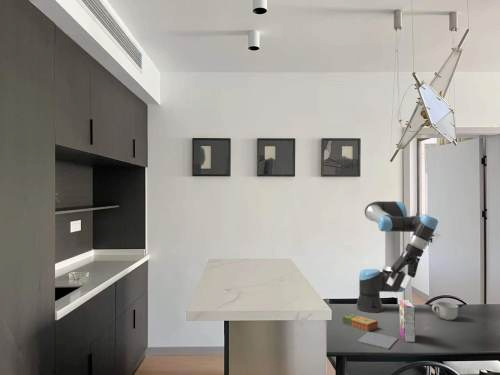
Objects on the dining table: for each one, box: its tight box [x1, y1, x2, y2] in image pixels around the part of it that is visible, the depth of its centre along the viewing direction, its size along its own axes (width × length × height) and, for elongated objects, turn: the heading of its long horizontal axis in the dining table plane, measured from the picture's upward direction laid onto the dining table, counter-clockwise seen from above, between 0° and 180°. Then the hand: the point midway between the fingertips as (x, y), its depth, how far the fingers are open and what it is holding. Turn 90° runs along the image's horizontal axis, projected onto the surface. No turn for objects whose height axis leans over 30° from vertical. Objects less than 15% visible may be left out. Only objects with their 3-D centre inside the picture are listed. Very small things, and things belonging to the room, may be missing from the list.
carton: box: [342, 313, 379, 333], centre depth 190 cm, size 8×16×4 cm, turn 37°
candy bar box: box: [398, 299, 416, 343], centre depth 174 cm, size 11×5×16 cm, turn 168°
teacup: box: [431, 300, 459, 321], centre depth 204 cm, size 14×11×8 cm
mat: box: [356, 331, 399, 350], centre depth 170 cm, size 15×14×1 cm
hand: (396, 286), depth 175 cm, fingers open, 13 cm apart
